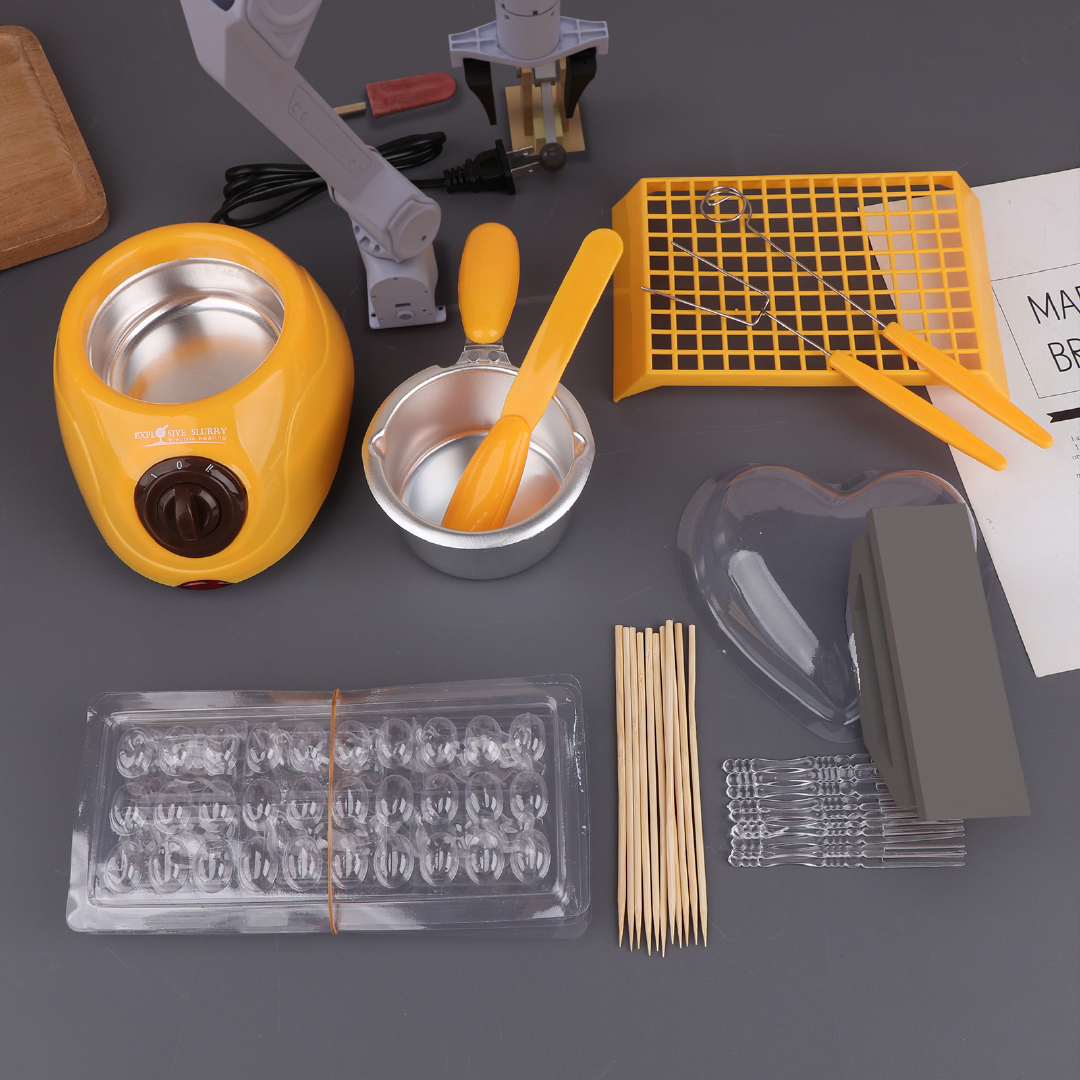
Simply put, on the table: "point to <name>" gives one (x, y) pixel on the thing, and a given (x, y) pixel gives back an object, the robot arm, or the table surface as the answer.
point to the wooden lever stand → (529, 99)
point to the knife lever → (549, 120)
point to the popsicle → (404, 94)
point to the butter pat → (540, 132)
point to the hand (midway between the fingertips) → (530, 114)
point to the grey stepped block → (931, 667)
